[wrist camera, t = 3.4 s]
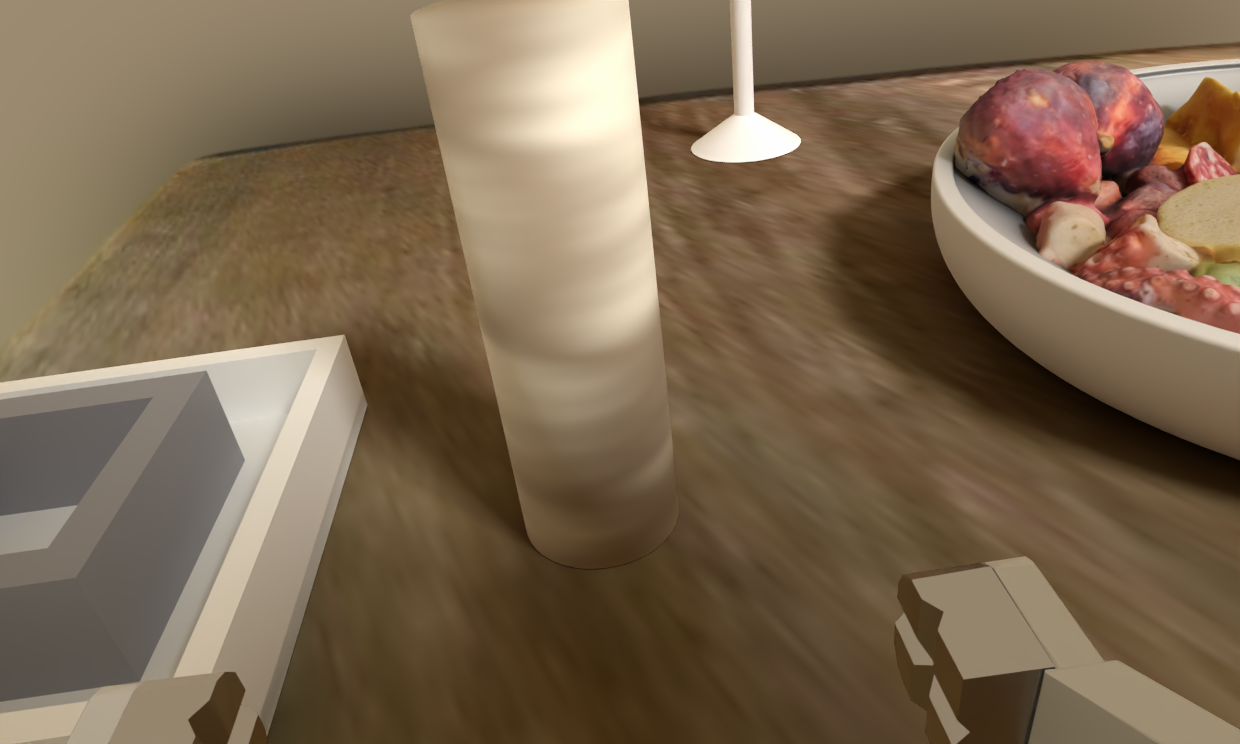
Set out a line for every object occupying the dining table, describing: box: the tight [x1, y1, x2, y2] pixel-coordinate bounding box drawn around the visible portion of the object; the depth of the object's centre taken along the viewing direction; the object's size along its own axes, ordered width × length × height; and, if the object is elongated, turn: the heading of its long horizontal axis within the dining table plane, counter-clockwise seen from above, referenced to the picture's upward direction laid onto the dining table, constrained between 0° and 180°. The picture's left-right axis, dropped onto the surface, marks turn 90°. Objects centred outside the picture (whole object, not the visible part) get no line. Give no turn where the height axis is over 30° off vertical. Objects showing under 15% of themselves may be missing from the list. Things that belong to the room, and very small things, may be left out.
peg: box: [411, 0, 679, 569], centre depth 21 cm, size 4×4×14 cm
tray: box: [0, 335, 367, 744], centre depth 24 cm, size 16×16×4 cm
